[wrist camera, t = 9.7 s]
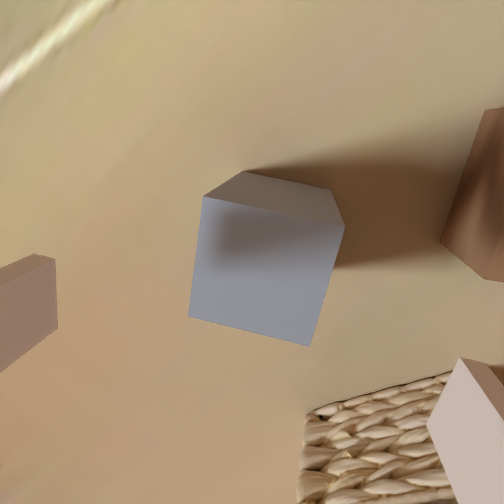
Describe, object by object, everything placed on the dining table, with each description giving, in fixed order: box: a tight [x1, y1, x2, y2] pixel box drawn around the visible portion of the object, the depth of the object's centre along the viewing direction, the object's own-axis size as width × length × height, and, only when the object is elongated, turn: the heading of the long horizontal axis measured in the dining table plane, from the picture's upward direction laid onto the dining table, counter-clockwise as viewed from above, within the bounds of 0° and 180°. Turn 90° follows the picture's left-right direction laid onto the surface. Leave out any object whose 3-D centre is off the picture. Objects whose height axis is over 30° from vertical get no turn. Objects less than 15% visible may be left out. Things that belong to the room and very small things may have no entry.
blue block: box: [188, 171, 345, 347], centre depth 19 cm, size 6×6×9 cm
